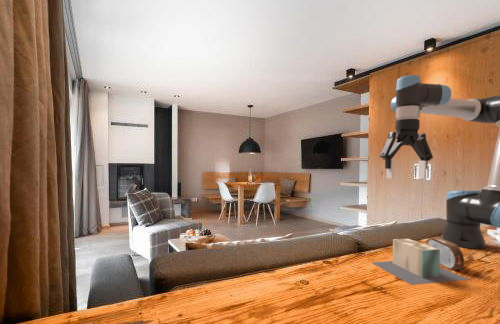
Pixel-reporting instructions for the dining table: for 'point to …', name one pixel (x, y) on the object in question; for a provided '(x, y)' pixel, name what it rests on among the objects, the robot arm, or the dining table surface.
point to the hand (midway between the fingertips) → (406, 178)
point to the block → (416, 257)
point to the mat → (415, 279)
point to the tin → (448, 253)
